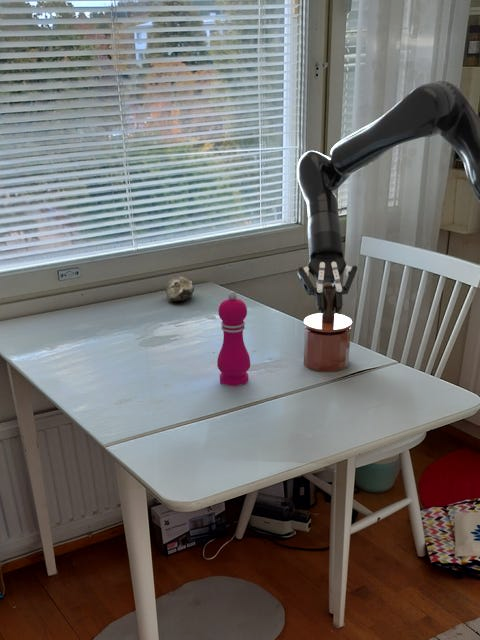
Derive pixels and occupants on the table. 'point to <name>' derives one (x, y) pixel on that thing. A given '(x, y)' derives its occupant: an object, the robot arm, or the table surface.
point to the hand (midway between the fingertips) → (330, 310)
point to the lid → (328, 315)
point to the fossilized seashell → (179, 289)
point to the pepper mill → (233, 342)
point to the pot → (326, 350)
